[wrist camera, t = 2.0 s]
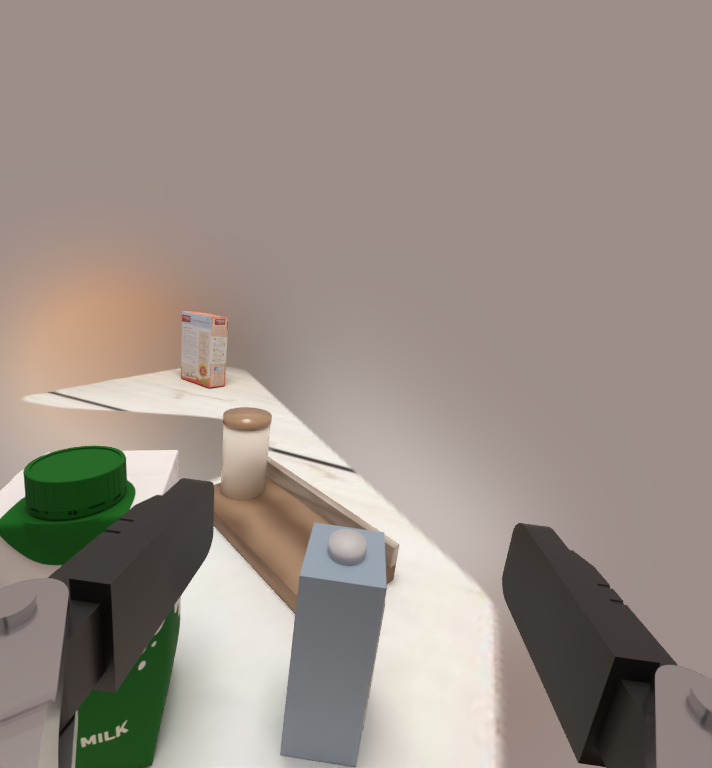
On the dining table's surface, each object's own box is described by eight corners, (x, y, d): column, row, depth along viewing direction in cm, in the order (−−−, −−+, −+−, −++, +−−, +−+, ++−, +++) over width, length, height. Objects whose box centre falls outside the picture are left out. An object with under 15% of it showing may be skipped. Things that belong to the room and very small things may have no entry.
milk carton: (-23, 836, 18) (-82, 492, 14) (58, 664, 27) (37, 415, 22) (166, 779, 21) (167, 481, 17) (185, 641, 29) (190, 417, 25)
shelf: (319, 639, 31) (324, 597, 30) (194, 503, 48) (195, 474, 47) (393, 579, 39) (399, 544, 38) (264, 481, 56) (266, 455, 55)
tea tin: (280, 754, 23) (300, 563, 20) (296, 676, 28) (315, 512, 25) (357, 767, 23) (391, 576, 20) (360, 686, 28) (388, 522, 24)
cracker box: (226, 386, 106) (229, 316, 101) (208, 389, 101) (211, 316, 96) (198, 376, 113) (199, 311, 108) (180, 378, 108) (181, 310, 103)
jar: (234, 505, 45) (238, 426, 43) (211, 485, 49) (214, 411, 47) (274, 491, 50) (280, 418, 47) (251, 473, 54) (255, 405, 51)
